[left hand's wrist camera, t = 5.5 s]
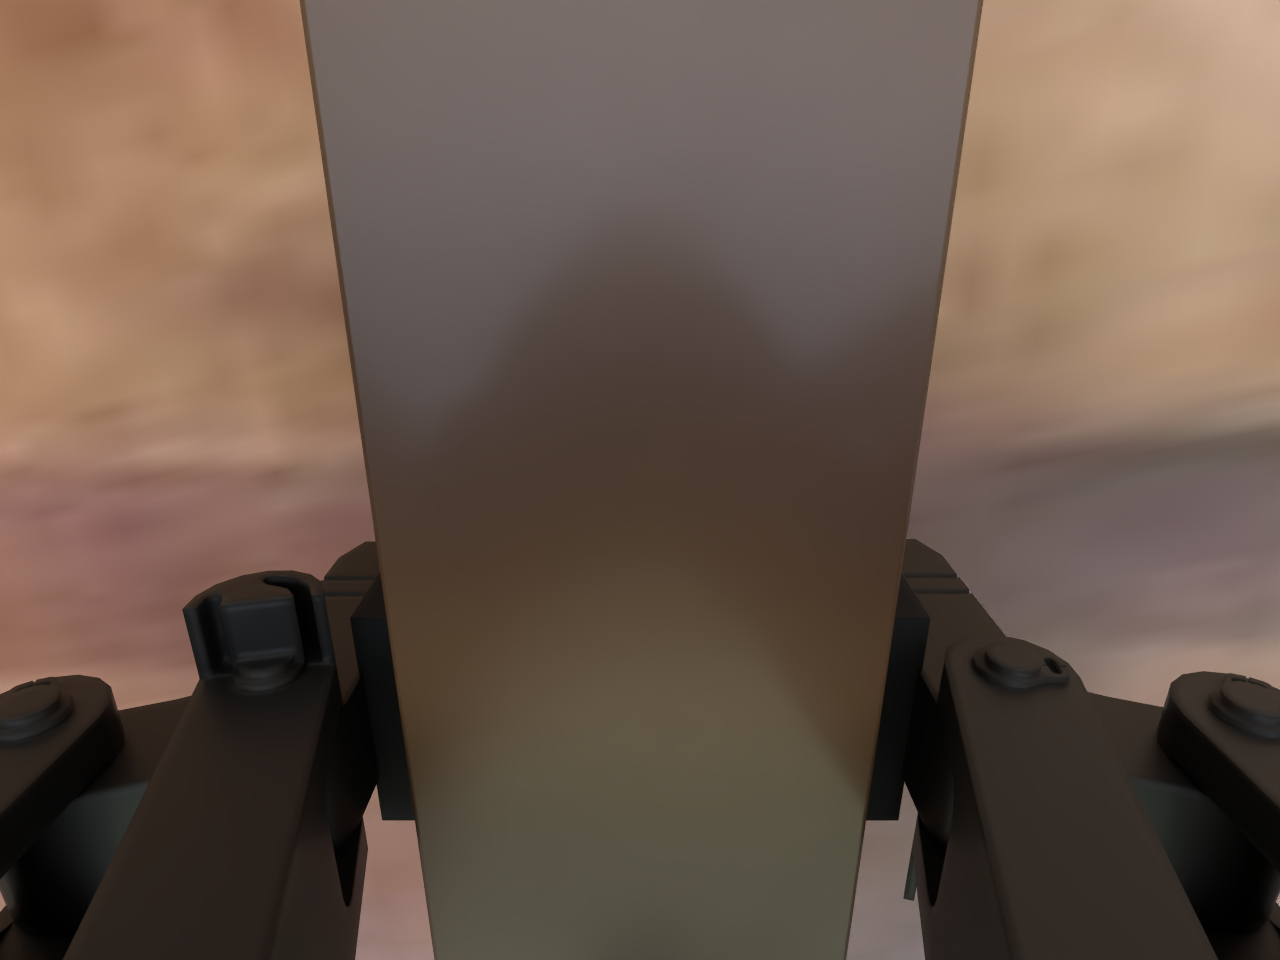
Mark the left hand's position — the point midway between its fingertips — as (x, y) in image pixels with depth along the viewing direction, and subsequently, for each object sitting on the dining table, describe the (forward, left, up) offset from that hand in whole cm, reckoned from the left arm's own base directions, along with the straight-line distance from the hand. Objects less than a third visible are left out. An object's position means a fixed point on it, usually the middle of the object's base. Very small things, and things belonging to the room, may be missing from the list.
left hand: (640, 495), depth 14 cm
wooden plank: (-22, +5, -1) cm, 22 cm away
